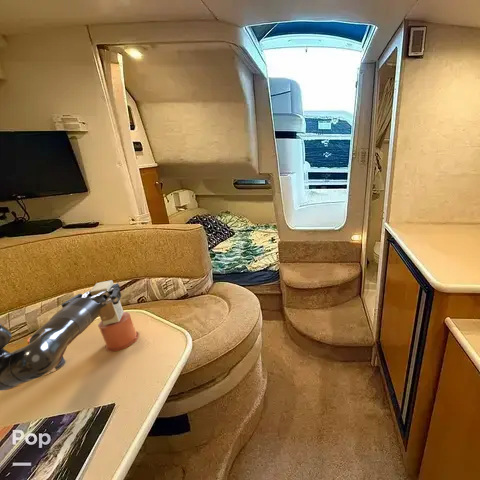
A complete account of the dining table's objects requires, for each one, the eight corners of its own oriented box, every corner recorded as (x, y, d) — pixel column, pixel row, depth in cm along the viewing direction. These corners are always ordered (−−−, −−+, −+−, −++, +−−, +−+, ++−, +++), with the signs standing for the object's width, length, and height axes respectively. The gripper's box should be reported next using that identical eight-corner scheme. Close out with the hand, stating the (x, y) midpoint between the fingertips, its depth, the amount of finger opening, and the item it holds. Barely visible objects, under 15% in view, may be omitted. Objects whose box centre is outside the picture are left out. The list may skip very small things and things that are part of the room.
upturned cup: (99, 354, 84) (90, 331, 81) (114, 335, 93) (105, 314, 90) (132, 348, 86) (123, 326, 83) (143, 330, 94) (136, 309, 91)
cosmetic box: (108, 315, 88) (96, 282, 84) (124, 311, 89) (112, 279, 85) (102, 326, 82) (88, 291, 78) (119, 322, 84) (106, 287, 80)
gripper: (100, 301, 69) (129, 273, 85) (35, 311, 67) (78, 280, 83) (109, 325, 72) (136, 293, 88) (48, 336, 69) (86, 301, 85)
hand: (107, 287), depth 85 cm, fingers closed on cosmetic box, 5 cm apart
